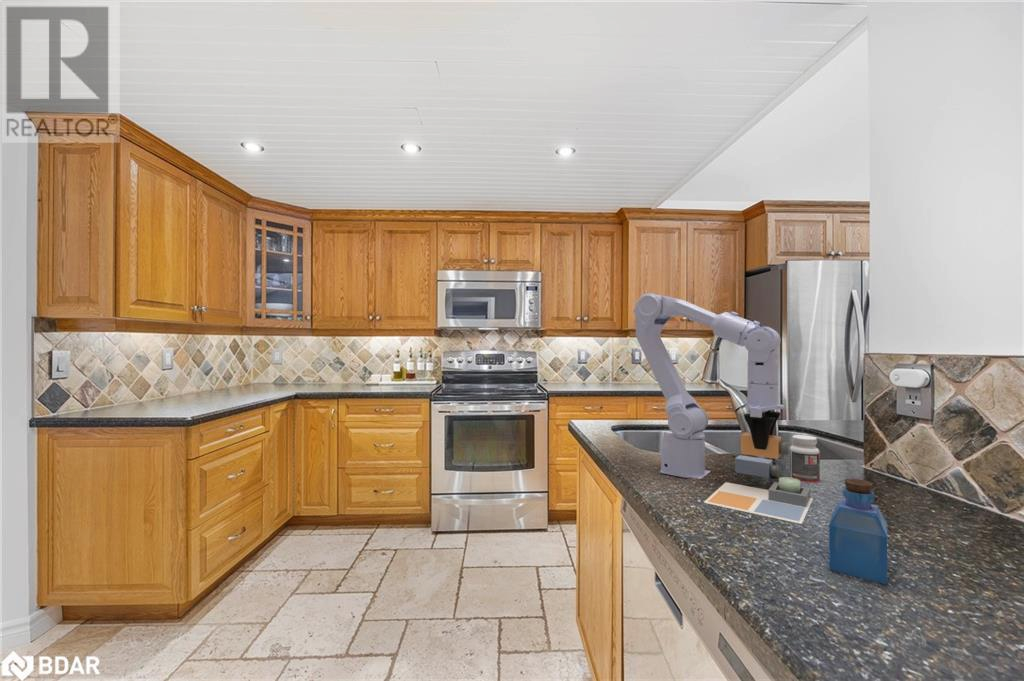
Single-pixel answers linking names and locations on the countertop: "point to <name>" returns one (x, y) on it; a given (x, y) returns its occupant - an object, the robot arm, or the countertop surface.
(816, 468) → the pill bottle
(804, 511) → the sheet
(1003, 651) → the countertop surface
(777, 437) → the orange marker
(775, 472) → the grey-capped blue block
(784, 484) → the button
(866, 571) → the perfume bottle
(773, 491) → the button housing
